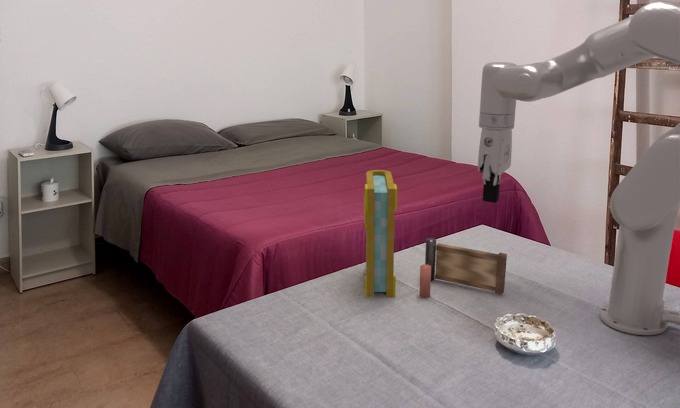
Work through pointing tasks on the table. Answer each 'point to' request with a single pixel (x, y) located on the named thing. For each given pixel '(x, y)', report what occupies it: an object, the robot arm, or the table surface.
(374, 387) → the table surface
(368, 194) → the book
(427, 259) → the gate post
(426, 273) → the post
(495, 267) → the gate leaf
